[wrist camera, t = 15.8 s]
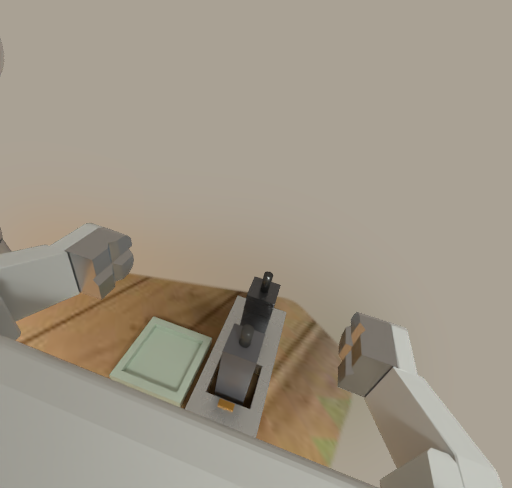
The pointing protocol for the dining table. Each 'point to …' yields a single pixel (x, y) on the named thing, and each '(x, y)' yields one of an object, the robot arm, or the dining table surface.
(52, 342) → the dining table surface
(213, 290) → the dining table surface
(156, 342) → the tray
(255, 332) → the plug
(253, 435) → the pillar on holed base
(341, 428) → the dining table surface
